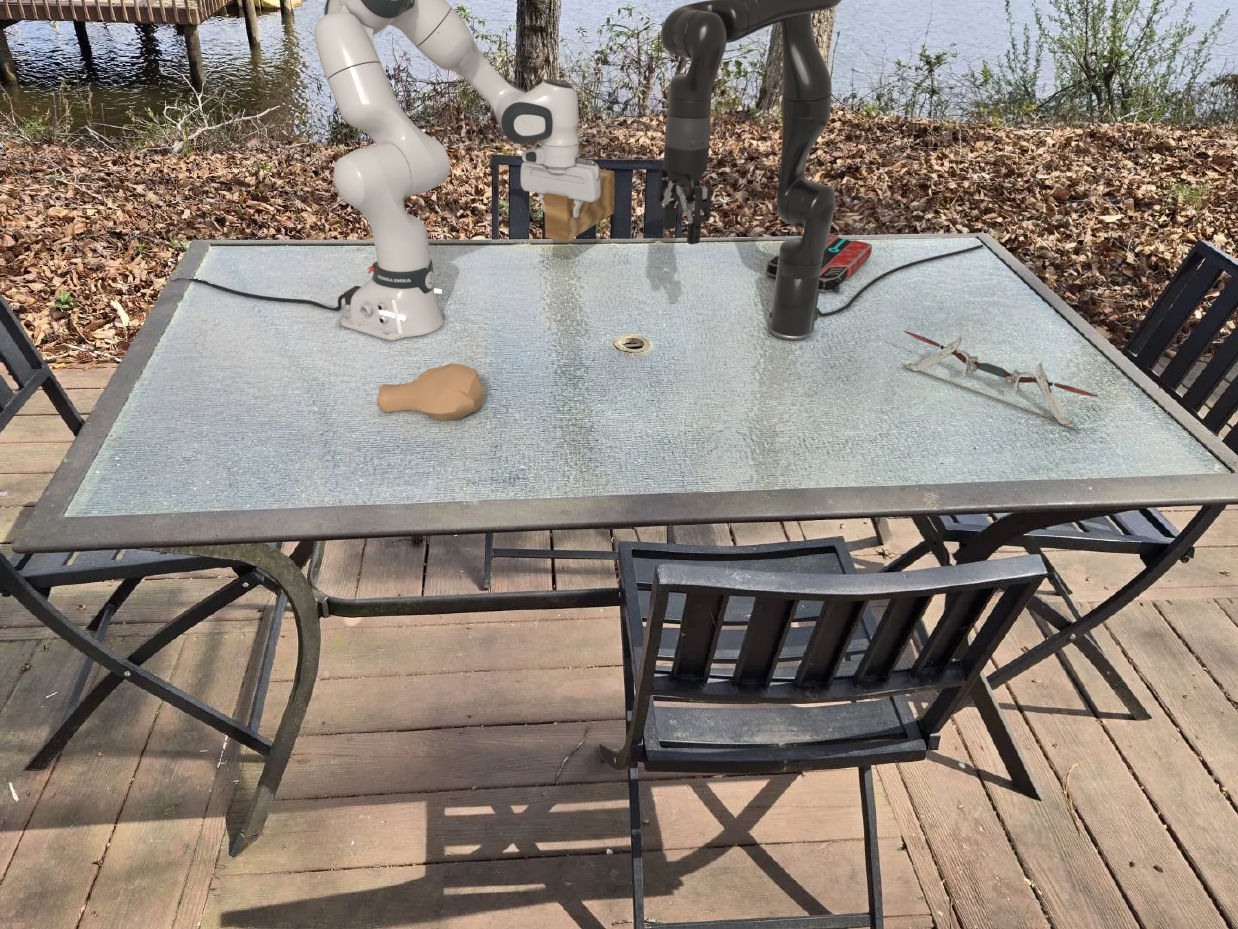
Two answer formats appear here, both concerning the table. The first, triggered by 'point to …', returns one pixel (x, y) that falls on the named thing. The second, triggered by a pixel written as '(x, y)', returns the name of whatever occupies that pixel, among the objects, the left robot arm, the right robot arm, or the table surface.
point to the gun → (835, 262)
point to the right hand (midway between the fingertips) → (680, 235)
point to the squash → (436, 393)
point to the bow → (1010, 379)
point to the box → (590, 213)
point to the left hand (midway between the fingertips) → (560, 214)
